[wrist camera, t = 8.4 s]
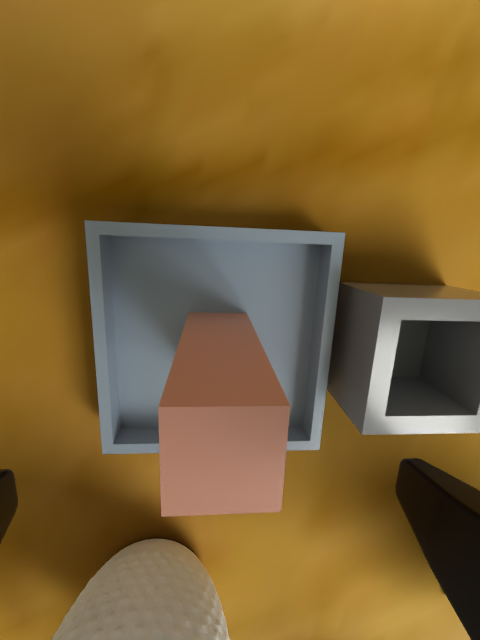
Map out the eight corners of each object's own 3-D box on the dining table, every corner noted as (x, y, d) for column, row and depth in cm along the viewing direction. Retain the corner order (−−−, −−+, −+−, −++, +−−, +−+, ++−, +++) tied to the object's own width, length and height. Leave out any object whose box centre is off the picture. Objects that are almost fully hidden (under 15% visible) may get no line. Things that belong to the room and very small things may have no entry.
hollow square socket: (446, 285, 19) (526, 301, 14) (425, 387, 21) (490, 432, 16) (338, 281, 18) (383, 297, 14) (326, 387, 20) (361, 434, 15)
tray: (327, 233, 18) (345, 232, 15) (306, 425, 21) (319, 449, 18) (103, 223, 17) (84, 220, 14) (115, 427, 20) (102, 454, 17)
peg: (247, 313, 17) (290, 405, 8) (244, 366, 18) (281, 511, 9) (188, 312, 17) (157, 407, 7) (188, 366, 18) (161, 516, 8)
